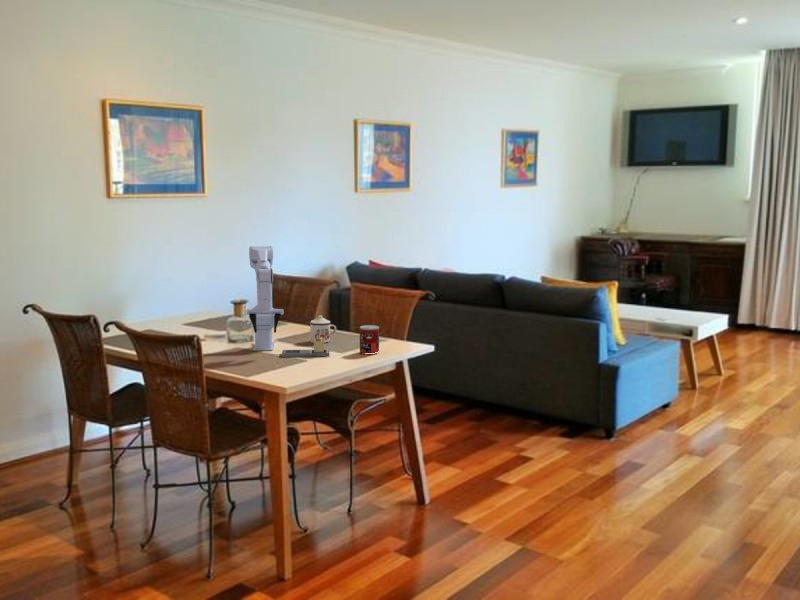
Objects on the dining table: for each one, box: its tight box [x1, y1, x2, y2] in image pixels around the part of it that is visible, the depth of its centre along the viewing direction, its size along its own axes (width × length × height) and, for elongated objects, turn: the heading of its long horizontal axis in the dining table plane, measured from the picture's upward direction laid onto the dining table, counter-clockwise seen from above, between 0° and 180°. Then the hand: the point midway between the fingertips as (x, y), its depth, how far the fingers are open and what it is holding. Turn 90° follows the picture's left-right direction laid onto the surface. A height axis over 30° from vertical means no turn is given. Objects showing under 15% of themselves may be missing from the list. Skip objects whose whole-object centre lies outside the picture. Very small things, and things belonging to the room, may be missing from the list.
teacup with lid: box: [309, 315, 337, 344], centre depth 347 cm, size 12×9×12 cm
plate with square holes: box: [281, 348, 330, 358], centre depth 319 cm, size 7×19×2 cm, turn 95°
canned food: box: [359, 324, 380, 354], centre depth 324 cm, size 8×8×11 cm
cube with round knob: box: [313, 338, 325, 353], centre depth 319 cm, size 4×4×7 cm
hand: (265, 332), depth 315 cm, fingers open, 7 cm apart
